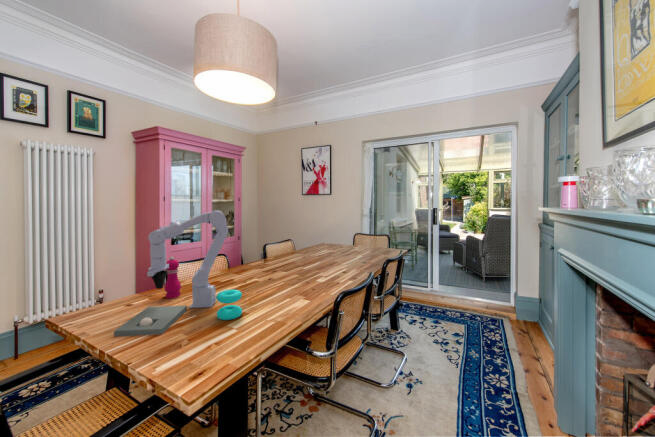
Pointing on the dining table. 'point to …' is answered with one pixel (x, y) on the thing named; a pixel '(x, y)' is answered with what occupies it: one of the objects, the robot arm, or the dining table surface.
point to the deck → (159, 316)
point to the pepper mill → (172, 279)
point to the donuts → (229, 310)
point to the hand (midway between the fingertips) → (159, 288)
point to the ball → (146, 322)
